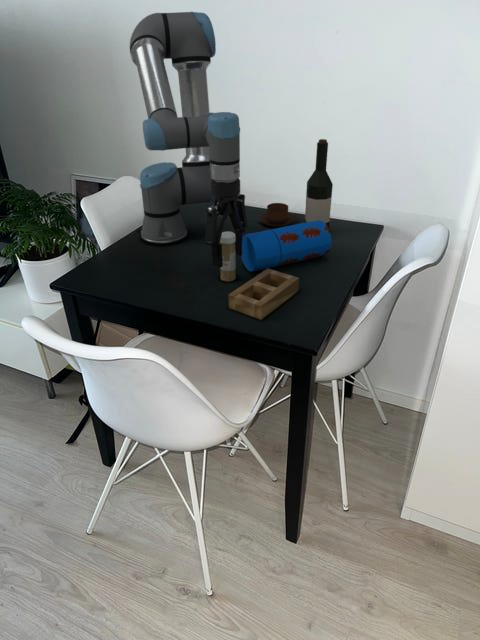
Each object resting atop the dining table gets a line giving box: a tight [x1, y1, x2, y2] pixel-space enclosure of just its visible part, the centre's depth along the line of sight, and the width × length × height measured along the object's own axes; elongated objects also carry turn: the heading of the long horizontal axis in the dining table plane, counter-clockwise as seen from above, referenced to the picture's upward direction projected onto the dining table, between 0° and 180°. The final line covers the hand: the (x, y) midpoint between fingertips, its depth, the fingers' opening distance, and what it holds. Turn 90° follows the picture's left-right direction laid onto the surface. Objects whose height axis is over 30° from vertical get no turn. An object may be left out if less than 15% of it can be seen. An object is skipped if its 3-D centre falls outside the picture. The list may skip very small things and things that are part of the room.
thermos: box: [240, 221, 332, 272], centre depth 149 cm, size 11×11×25 cm
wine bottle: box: [304, 138, 334, 230], centre depth 164 cm, size 8×8×30 cm
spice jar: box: [219, 231, 237, 283], centre depth 140 cm, size 5×5×13 cm
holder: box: [228, 268, 300, 321], centre depth 133 cm, size 10×18×4 cm, turn 144°
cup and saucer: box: [259, 202, 295, 228], centre depth 177 cm, size 12×12×6 cm
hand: (227, 259), depth 141 cm, fingers open, 8 cm apart
